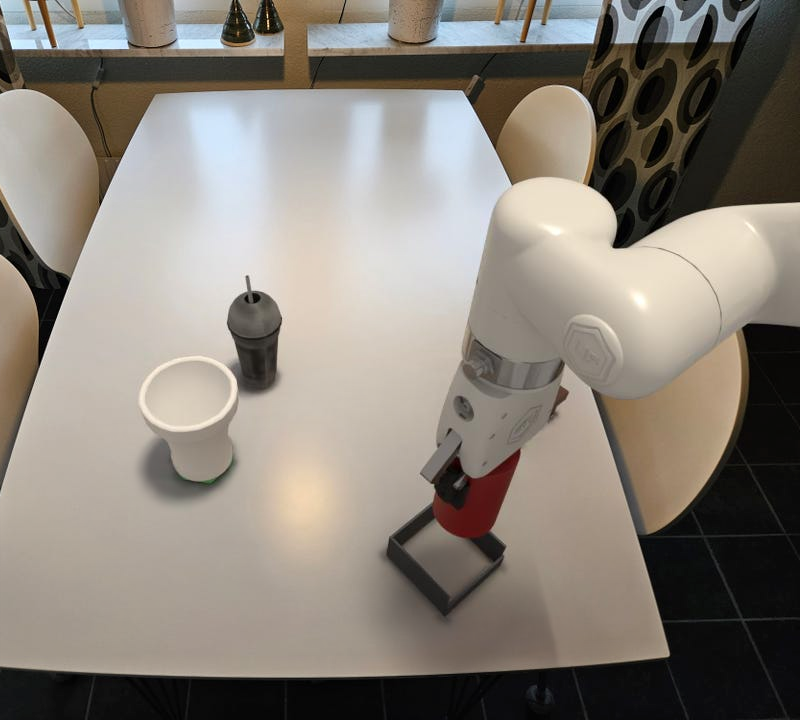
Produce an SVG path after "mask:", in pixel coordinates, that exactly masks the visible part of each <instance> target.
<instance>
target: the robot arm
mask: <svg viewBox="0 0 800 720" xmlns="http://www.w3.org/2000/svg"><path fill="white" fill-rule="evenodd" d="M617 229H618V221H617V216H616V212H615V210H614V208H613V206H612V204H611V203H610V202H609V201H608V199H607V198H606V197H605V196H603V195H602V194H601V193H600V192H599V191H597V190H595V189H594V188H593V187H591V186H588V185H586V184H584V183H582V182H579V181H576V180H572V179H568V178H564V177H555V176H540V177H539V176H538V177H533V178H528V179H524V180H522V181H521V180H520V181H518V182H516V183H514V184H512V185H511V186H510V187H508V188H507V189H506V190H504V191H503V192H502V194H501V195H500V196H498V199H497V200H496V202H495V204H494V205H493V208H492V212H491V215H490V217H489V222H488V227H487V232H486V237H485V240H484V245H483V249H482V253H481V259H480V262H479V267H478V271H477V276H476V280H475V281H476V282H475V286H474V290H473V295H472V298H471V303H470V308H469V312H468V317H467V321H466V326H465V330H464V335H463V339H462V345H461V350H460V353H461V360H460V362H459V364H458V366H457V368H456V370H455V373H454V375H453V377H452V381H451V382H450V386H449V388H448V391H447V393H446V396H445V400H444V402H443V405H442V408H441V411H440V412H441V413H440V416H439V420H438V423H437V429H436V434H435V435H436V437H435V443H436V448H437V449H436V450H435V451H434V453H432V455H431V456H430V458H429V459H428V460H427V462H426V463H425V464H424V466H423V467H422V468H421V470H420V472H419V475H420V476H421V477H423V479H425V480H426V481H427V482H428V483H429V484H430V485H433V489H434V491H435V490H436V492H437V495H438V496H439V497H440V498H441V499H442V500H443V501H444V502H445V503H450V504H451V505H452V506H453V507H454V508H455V509H456V510H458V511H459V510H461V509H462V508H463V507H464V504H465V501H466V497H467V494H468V491H469V487H470V483H469V482H468V481H467V480H468V479H469V477H471V478H480V477H483V476H485V475H487V474H488V473H489V472H491V471H492V470H493V469H495V468H496V467H497V466H498V465H500V464H501V463H502V462H503V461H505V460H506V459H507V458H508V457H510V456H511V455H512V454H513V453H514V452H516V451H517V450H518V449H519V448H520V449H521V450H522V447H523V446H524V445H525V444H526V443H528V442H529V441H530V440H531V439H533V438H534V437H535V436H536V435H537V434H538V433H539V432H540V431H541V430H542V429H543V428H544V427H545V426H546V424H547V423H548V421H549V419H550V418H549V416H550V414H551V411H552V408H553V405H554V402H555V399H556V396H557V393H558V390H559V387H560V385H561V383H562V379H563V377H564V371H565V368H566V366H567V368H569V370H571V372H572V373H573V374H574V375H575V376H577V378H578V379H579V380H581V381H582V382H583V383H584V384H585V385H587V387H589V388H590V389H592V390H594V391H596V392H597V393H599V394H601V395H603V396H605V397H608V398H611V399H614V400H621V401H634V400H639V399H644V398H645V397H649V396H651V395H653V394H655V393H657V392H658V391H660V390H662V389H663V388H665V387H666V386H667V385H669V384H671V383H672V381H674V380H675V379H677V378H678V377H679V376H681V375H682V374H683V373H685V372H686V371H687V370H688V369H690V368H691V367H692V366H694V365H695V364H696V363H698V362H699V361H700V360H701V359H703V358H704V357H706V356H707V355H708V354H710V353H711V351H713V350H714V349H716V348H717V347H718V346H719V345H721V344H722V343H723V342H724V341H726V340H727V339H729V338H730V337H731V336H733V335H734V334H735V333H736V332H738V331H739V330H741V329H742V328H743V327H745V326H747V324H761V325H763V324H764V325H776V326H789V327H797V328H798V327H799V328H800V202H785V203H783V202H781V203H761V204H743V205H729V206H722V207H715V208H710V209H705V210H699V211H696V212H693V213H691V214H688V215H685V216H681V217H679V218H677V219H675V220H674V221H673V220H672V222H670V223H667V224H666V225H664V226H662V227H660V228H659V229H656V230H655V231H653V232H651V233H649V234H648V235H647V236H646V235H645V237H643V238H642V239H640V240H638V241H636V242H635V243H633V244H631V245H630V246H628V247H623V248H614V247H613V246H614V243H615V240H616V235H617ZM454 458H456V459H457V460H458V461H460V462H461V465H462V470H461V471H459V470H457V469H456V468H455V467H454V466H453V465H452V464H451V462H452V461H453V460H454Z"/></svg>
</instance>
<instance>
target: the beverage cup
mask: <svg viewBox="0 0 800 720" xmlns="http://www.w3.org/2000/svg"><path fill="white" fill-rule="evenodd" d="M244 278H245V283H246V290H247V291H245V292H242V293H240V294H239V295H238V296H236V297H235V298H234V299H233V301H232V303H231V304H230V305H229V308H228V313H227V319H226V325H227V330H229V332H230V335H231V338H232V340H233V342H234V346H235V348H236V349H235V350H236V354H237V358H238V361H239V366H240V369H241V373H242V376H243V379H244V382H245V384H246V385H247V386H248V387H249V388H251V389H254V390H265V389H268V388H270V387H271V386H272V385H274V383H275V381H276V375H277V368H278V350H279V349H278V348H279V335H280V332H281V328H282V327H281V326H282V324H283V317H282V313H281V310H280V308H279V306H278V303H277V302H276V300H275V299H273V298H272V297H271V295H269V294H267V293H266V292H264V291H260V290H252V286H251V285H252V284H251V278H250V275H248V274H246V275H245V276H244Z"/></svg>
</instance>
